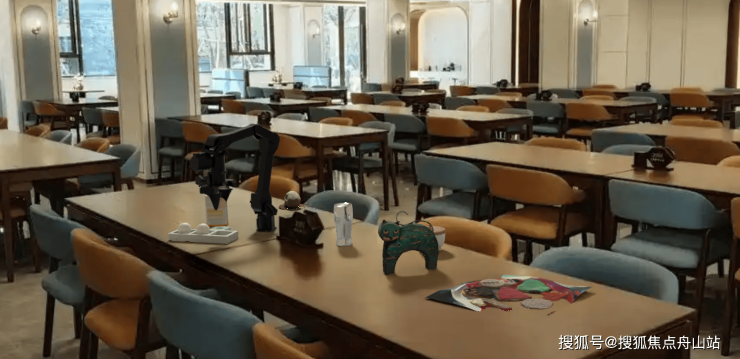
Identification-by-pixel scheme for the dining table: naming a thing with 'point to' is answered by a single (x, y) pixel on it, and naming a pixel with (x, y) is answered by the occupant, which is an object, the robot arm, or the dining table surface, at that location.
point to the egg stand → (221, 228)
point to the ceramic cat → (407, 243)
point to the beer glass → (343, 223)
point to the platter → (508, 293)
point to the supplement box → (215, 214)
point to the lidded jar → (439, 234)
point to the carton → (202, 234)
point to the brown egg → (221, 204)
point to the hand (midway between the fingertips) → (219, 208)
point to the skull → (291, 201)
